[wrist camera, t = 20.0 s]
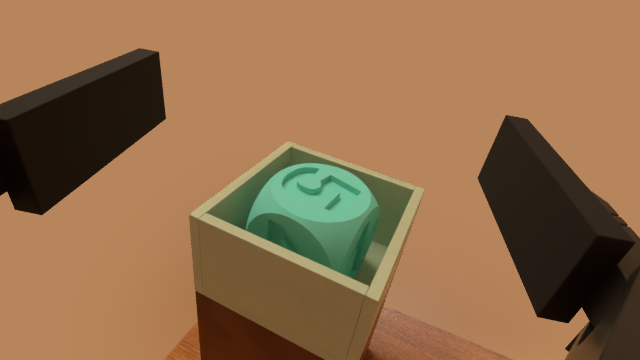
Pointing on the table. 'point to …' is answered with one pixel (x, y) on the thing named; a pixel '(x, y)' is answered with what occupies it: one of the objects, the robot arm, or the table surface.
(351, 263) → the decorative dice
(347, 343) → the bin
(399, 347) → the table surface
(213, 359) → the stand
